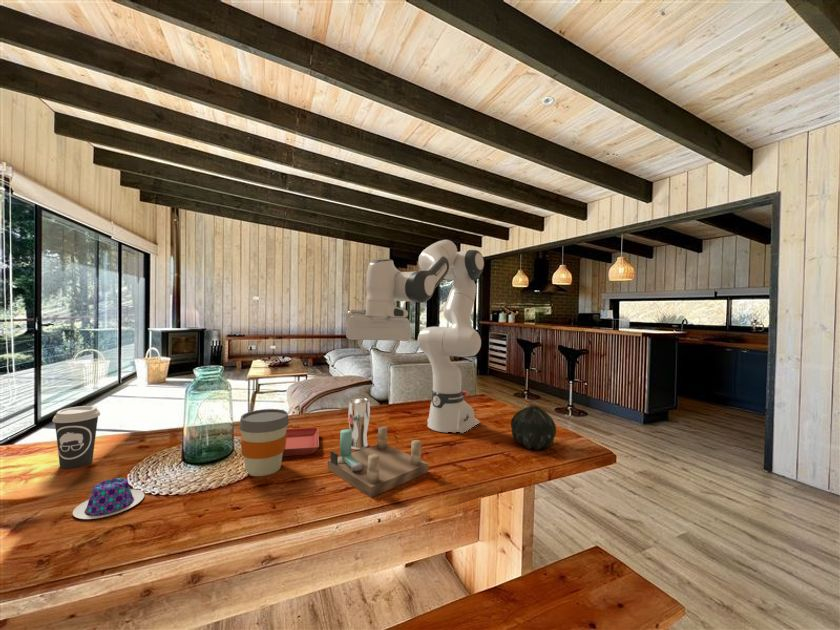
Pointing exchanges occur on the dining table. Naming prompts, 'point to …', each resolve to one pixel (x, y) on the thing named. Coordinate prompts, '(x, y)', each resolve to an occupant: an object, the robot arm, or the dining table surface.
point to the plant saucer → (301, 441)
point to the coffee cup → (76, 435)
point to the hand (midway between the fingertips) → (378, 354)
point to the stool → (380, 466)
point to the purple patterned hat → (108, 499)
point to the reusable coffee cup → (263, 440)
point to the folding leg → (348, 450)
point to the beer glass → (359, 422)
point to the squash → (533, 428)
